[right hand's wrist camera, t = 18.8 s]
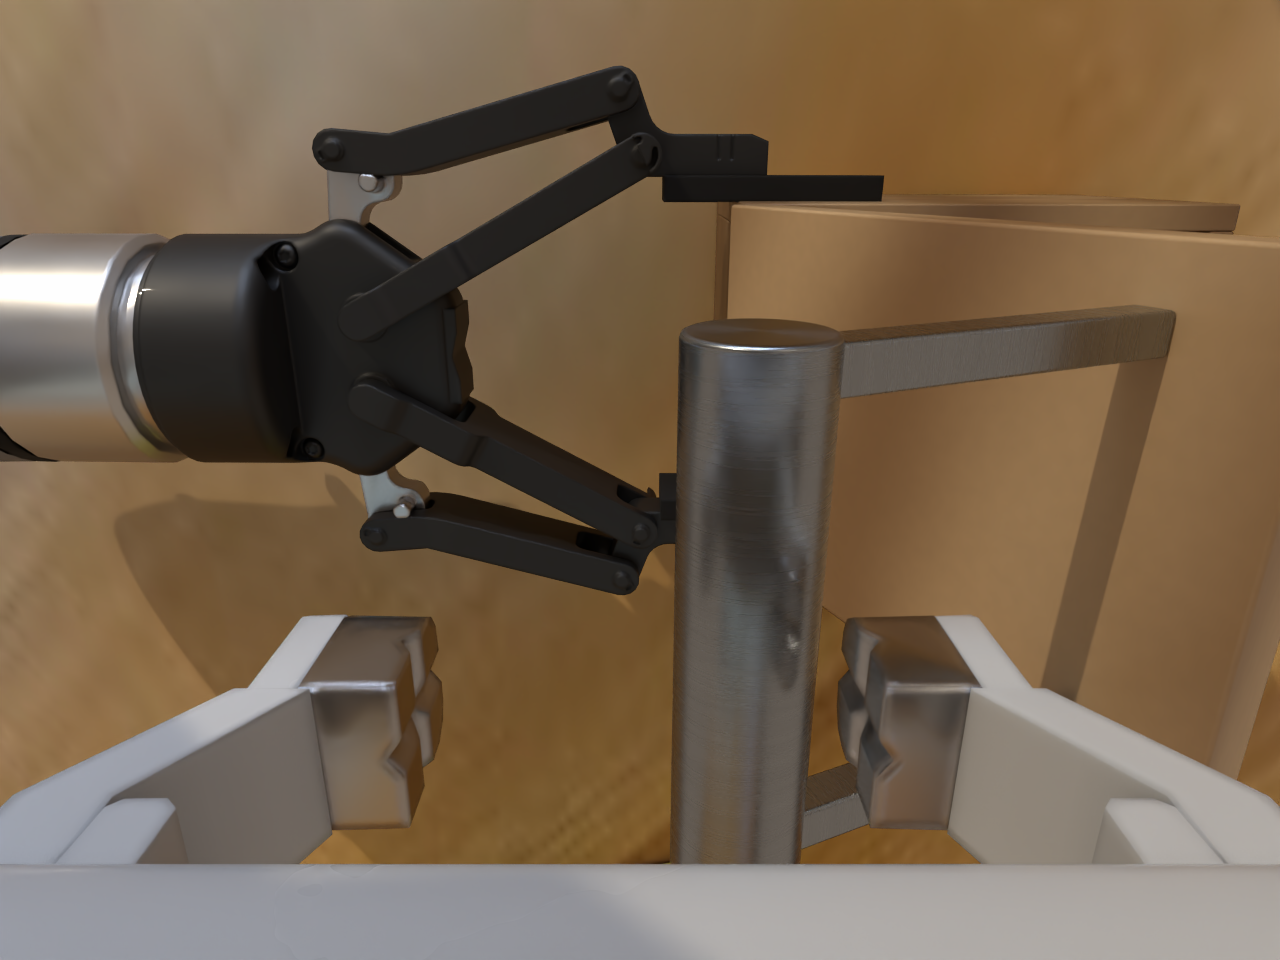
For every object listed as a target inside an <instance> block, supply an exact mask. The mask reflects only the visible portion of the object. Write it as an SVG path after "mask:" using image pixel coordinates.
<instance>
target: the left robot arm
mask: <svg viewBox="0 0 1280 960" xmlns="http://www.w3.org/2000/svg"><path fill="white" fill-rule="evenodd" d="M607 121H609V124H610V127H611V130H612V132H613V135H614V138H615V141H616V144H617V145H616V146H614V147H612V148H611V149H609V150H607V151H606V152H604V153H602V154H601V155H599V156H597V157H596V158H594V159H592V160H591V161H589V162H587V163H586V164H584V165H582V166H580V167H579V168H577V169H575V170H574V171H572V172H570V173H569V174H567V175H565V176H564V177H562V178H560V179H559V180H557V181H555V182H554V183H552V184H550V185H548V186H547V187H545V188H543V189H542V190H540V191H538V192H537V193H535V194H533V195H532V196H530V197H528V198H527V199H525V200H523V201H522V202H520V203H518V204H517V205H515V206H513V207H511V208H510V209H508V210H506V211H505V212H503V213H501V214H500V215H498V216H496V217H495V218H493V219H491V220H490V221H488V222H486V223H485V224H483V225H481V226H479V227H478V228H476V229H474V230H473V231H471V232H469V233H468V234H466V235H464V236H463V237H461V238H459V239H458V240H456V241H454V242H452V243H450V244H448V245H447V246H445V247H443V248H441V249H439V250H438V251H436V252H434V253H433V254H431V255H429V256H428V257H426V258H424V259H422V258H420V257H419V256H417V255H416V254H414V253H413V252H412V251H410V250H409V249H407V248H406V247H405V246H403V245H402V244H400V243H399V242H397V241H396V240H395V239H393V238H392V237H390V236H389V235H388V234H386V233H385V232H383V231H382V230H380V229H379V228H378V227H376V226H375V225H373V224H372V223H370V222H369V218H370V213H371V211H372V209H373V208H374V207H375V205H377V204H379V203H380V202H384V201H389V200H392V199H394V198H396V197H397V196H398V195H399V193H400V191H401V189H402V176H410V175H420V174H427V173H431V172H436V171H440V170H443V169H446V168H450V167H453V166H457V165H460V164H464V163H467V162H470V161H474V160H477V159H481V158H484V157H487V156H491V155H494V154H498V153H501V152H505V151H508V150H511V149H515V148H518V147H522V146H525V145H528V144H532V143H535V142H539V141H542V140H546V139H549V138H552V137H556V136H559V135H563V134H566V133H569V132H573V131H576V130H580V129H583V128H587V127H590V126H593V125H597V124H600V123H604V122H607ZM768 142H769V141H766V140H764V139H762V138H760V137H757V136H755V135H753V134H670V133H666V132H664V131H662V130H660V129H659V128H658V127H657V126H656V125H655V124H654V123H653V121H652V119H651V117H650V115H649V112H648V109H647V106H646V103H645V100H644V97H643V94H642V91H641V88H640V85H639V81H638V79H637V77H636V75H635V74H634V73H633V72H632V71H631V70H630V69H629V68H626V67H624V66H613V67H610V68H606V69H603V70H600V71H596V72H593V73H590V74H586V75H583V76H580V77H576V78H573V79H570V80H566V81H563V82H560V83H556V84H553V85H550V86H546V87H543V88H540V89H536V90H533V91H529V92H526V93H523V94H519V95H516V96H513V97H509V98H506V99H503V100H499V101H496V102H493V103H489V104H486V105H483V106H479V107H476V108H473V109H469V110H466V111H463V112H459V113H456V114H453V115H449V116H446V117H442V118H439V119H436V120H432V121H429V122H426V123H422V124H419V125H416V126H412V127H409V128H406V129H402V130H399V131H396V132H392V133H378V132H367V131H356V130H346V129H335V128H329V129H323V130H322V131H320V132H319V133H317V135H316V136H315V138H314V140H313V146H312V150H313V154H314V157H315V159H316V160H317V162H318V164H319V165H321V166H322V167H323V168H325V169H326V170H327V180H328V206H329V221H327V222H325V223H323V224H321V225H320V226H318V227H317V228H315V229H313V230H312V231H309V232H307V233H304V234H183V235H179V236H176V237H174V238H173V239H171V240H170V239H168V238H165V237H163V236H160V235H158V234H29V235H8V236H0V461H51V462H57V461H86V462H179V461H181V460H184V459H186V458H188V457H189V458H191V459H193V460H196V461H200V462H240V463H300V462H327V463H332V464H335V465H338V466H340V467H343V468H345V469H347V470H349V471H351V472H353V473H355V474H358V475H360V479H361V484H362V489H363V494H364V498H365V503H366V508H367V513H368V519H367V521H366V522H365V523H364V524H363V526H362V528H361V530H360V539H361V541H362V543H363V544H364V545H365V546H366V547H367V548H368V549H370V550H372V551H378V552H383V551H397V550H410V549H423V548H429V549H433V550H437V551H441V552H445V553H449V554H453V555H457V556H461V557H465V558H470V559H474V560H478V561H482V562H486V563H490V564H494V565H498V566H502V567H506V568H510V569H515V570H519V571H523V572H527V573H531V574H535V575H539V576H543V577H547V578H551V579H555V580H559V581H564V582H568V583H572V584H576V585H580V586H584V587H588V588H592V589H596V590H600V591H604V592H608V593H613V594H617V595H627V594H630V593H632V592H633V591H634V590H636V588H637V586H638V584H639V576H640V573H641V571H642V568H643V566H644V563H645V561H646V559H647V556H648V555H649V553H650V552H651V551H652V550H653V549H654V548H656V547H657V546H660V545H662V544H675V540H676V483H677V473H659V498H656V494H655V493H654V491H653V490H652V489H651V488H648V489H647V493H646V492H644V491H642V490H640V489H638V488H636V487H634V486H632V485H630V484H628V483H626V482H624V481H622V480H621V479H619V478H617V477H615V476H613V475H611V474H609V473H607V472H605V471H603V470H601V469H599V468H597V467H595V466H594V465H592V464H590V463H588V462H586V461H584V460H582V459H580V458H578V457H576V456H574V455H572V454H570V453H569V452H567V451H565V450H563V449H561V448H559V447H557V446H555V445H553V444H551V443H549V442H547V441H545V440H543V439H542V438H540V437H538V436H536V435H534V434H532V433H530V432H528V431H526V430H524V429H522V428H520V427H518V426H516V425H515V424H513V423H511V422H509V421H507V420H505V419H503V418H501V417H500V416H499V415H498V414H497V413H496V412H495V410H493V409H492V408H491V407H489V406H487V405H485V404H484V403H482V402H480V401H478V400H476V399H474V398H472V397H470V396H469V395H470V393H471V392H472V390H473V389H474V387H473V372H472V366H471V363H470V360H469V357H468V354H467V351H466V348H465V341H466V336H467V330H468V325H469V314H468V300H463V298H462V295H461V293H460V291H459V290H458V288H457V287H459V286H460V285H462V284H464V283H466V282H467V281H469V280H471V279H472V278H474V277H476V276H477V275H479V274H481V273H483V272H484V271H486V270H488V269H489V268H491V267H493V266H495V265H496V264H498V263H500V262H501V261H503V260H505V259H507V258H508V257H510V256H512V255H513V254H515V253H517V252H519V251H520V250H522V249H524V248H525V247H527V246H529V245H531V244H532V243H534V242H536V241H537V240H539V239H541V238H543V237H544V236H546V235H548V234H549V233H551V232H553V231H555V230H556V229H558V228H560V227H561V226H563V225H565V224H567V223H568V222H570V221H572V220H573V219H575V218H577V217H579V216H580V215H582V214H584V213H586V212H587V211H589V210H591V209H592V208H594V207H596V206H598V205H599V204H601V203H603V202H604V201H606V200H608V199H610V198H611V197H613V196H615V195H616V194H618V193H620V192H622V191H623V190H625V189H627V188H628V187H630V186H632V185H634V184H635V183H637V182H639V181H640V180H642V179H644V178H646V177H662V200H663V201H664V202H740V201H818V202H882V192H883V182H884V176H875V175H767V162H768ZM419 447H422V448H424V449H426V450H428V451H430V452H432V453H434V454H436V455H438V456H440V457H442V458H444V459H446V460H448V461H450V462H452V463H454V464H457V465H459V466H471V467H474V468H477V469H479V470H481V471H483V472H485V473H487V474H488V475H490V476H492V477H494V478H496V479H498V480H500V481H502V482H504V483H506V484H508V485H510V486H512V487H514V488H516V489H518V490H520V491H522V492H524V493H526V494H528V495H530V496H532V497H534V498H536V499H538V500H540V501H542V502H544V503H546V504H548V505H550V506H552V507H554V508H556V509H558V510H560V511H562V512H564V513H566V514H568V515H570V516H572V517H574V518H576V519H578V520H580V521H582V522H584V523H585V524H587V525H589V526H591V527H593V528H595V529H592V528H588V527H585V526H581V525H577V524H573V523H569V522H565V521H561V520H557V519H553V518H549V517H545V516H541V515H537V514H533V513H529V512H525V511H521V510H517V509H513V508H509V507H505V506H501V505H497V504H493V503H489V502H485V501H481V500H477V499H473V498H469V497H465V496H461V495H456V494H451V493H440V492H429V489H428V488H427V486H426V485H425V484H424V483H423V482H421V481H418V480H412V479H408V478H405V477H403V476H402V475H401V474H400V473H399V472H398V471H397V469H396V467H395V465H396V464H397V463H398V462H400V461H401V460H403V459H404V458H405V457H407V456H408V455H409V454H411V453H412V452H413V451H415V450H416V449H417V448H419ZM596 529H597V530H596Z"/></svg>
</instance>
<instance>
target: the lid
mask: <svg viewBox="0 0 1280 960" xmlns="http://www.w3.org/2000/svg"><path fill="white" fill-rule="evenodd" d="M822 606H823V607H824V608H825V609H827V610H828V611H829V612H831V613H832V614H833V615H835V616H836V617H837V618H839V619H840V620H842V621H843V622H844V623H846V620H847V619H849V618H853V617H892V616H947V615H970V614H971V615H973V616H975V617H978V618H979V619H980V621H981V622H982V623H983V624H984V626H985V627H986V628H987V630H988V631H989V632H990V633H991V635H992V636H993V637H994V639H995V640H996V641H997V643H998V644H999V645H1000V646H1001V648H1002V649H1003V650H1004V652H1005V653H1006V654H1007V655H1008V657H1009V658H1010V659H1011V661H1012V662H1013V663H1014V664H1015V666H1016V667H1017V668H1018V670H1019V671H1020V672H1021V674H1022V675H1023V676H1024V677H1025V679H1026V680H1027V681H1028V683H1029V684H1030V685H1031V686H1032V688H1047V689H1049V690H1051V691H1053V692H1055V693H1057V694H1059V695H1061V696H1063V697H1065V698H1067V699H1069V700H1071V701H1073V702H1075V703H1078V704H1080V705H1082V706H1084V707H1086V708H1088V709H1090V710H1092V711H1094V712H1096V713H1098V714H1100V715H1102V716H1104V717H1106V718H1109V719H1111V720H1113V721H1115V722H1117V723H1119V724H1121V725H1123V726H1125V727H1127V728H1129V729H1131V730H1133V731H1135V732H1137V733H1139V734H1142V735H1144V736H1146V737H1148V738H1150V739H1152V740H1154V741H1156V742H1158V743H1160V744H1162V745H1164V746H1166V747H1168V748H1170V749H1173V750H1175V751H1177V752H1179V753H1181V754H1183V755H1185V756H1187V757H1189V758H1191V759H1193V760H1195V761H1197V762H1199V763H1201V764H1204V765H1206V766H1208V767H1210V768H1212V769H1214V770H1216V771H1218V772H1220V773H1222V774H1224V775H1226V776H1228V777H1230V778H1232V779H1234V780H1237V777H1238V774H1239V771H1240V768H1241V764H1242V761H1243V758H1244V755H1245V751H1246V748H1247V745H1248V741H1249V738H1250V735H1251V732H1252V728H1253V725H1254V722H1255V719H1256V715H1257V712H1258V709H1259V706H1260V702H1261V699H1262V696H1263V692H1264V689H1265V686H1266V683H1267V679H1268V676H1269V673H1270V670H1271V666H1272V663H1273V660H1274V656H1275V653H1276V650H1277V647H1278V643H1279V640H1280V238H1276V237H1260V236H1245V235H1229V234H1214V233H1199V232H1183V231H1168V230H1152V229H1137V228H1122V227H1106V226H1091V225H1075V224H1060V223H1045V222H1029V221H1014V220H998V219H983V218H968V217H952V216H937V215H921V214H906V213H891V212H875V211H860V210H844V209H829V208H814V207H798V206H783V205H767V204H739V205H733V206H732V207H731V230H730V257H729V283H728V310H727V319H722V320H713V321H706V322H701V323H697V324H694V325H691V326H688V327H686V328H684V329H683V330H682V331H681V333H680V336H679V370H678V426H677V483H676V540H675V597H674V653H673V710H672V767H671V824H670V864H800V857H801V849H804V848H807V847H809V846H812V845H815V844H817V843H820V842H822V841H825V840H828V839H830V838H833V837H836V836H838V835H841V834H844V833H846V832H849V831H852V830H854V829H857V828H860V827H862V826H865V825H868V824H869V822H868V820H867V817H866V814H865V811H864V809H863V806H862V803H861V800H860V797H859V795H858V792H857V789H856V786H855V785H856V775H857V767H855V766H854V765H853V764H851V763H847V764H844V765H841V766H838V767H835V768H832V769H830V770H827V771H824V772H821V773H818V774H815V775H812V776H809V777H808V765H809V754H810V742H811V731H812V719H813V708H814V696H815V685H816V673H817V662H818V650H819V639H820V627H821V616H822Z"/></svg>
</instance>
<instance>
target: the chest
mask: <svg viewBox="0 0 1280 960" xmlns="http://www.w3.org/2000/svg"><path fill="white" fill-rule="evenodd" d="M739 204H767V205H783V206H798V207H814V208H829V209H844V210H860V211H875V212H891V213H906V214H921V215H937V216H952V217H968V218H983V219H998V220H1014V221H1029V222H1045V223H1060V224H1075V225H1091V226H1106V227H1122V228H1137V229H1152V230H1168V231H1183V232H1199V233H1214V234H1229V235H1233V232H1231V231H1234V230H1235V226H1236V222H1237V218H1238V213H1239V209H1240V205H1239V204H1225V203H1207V202H1190V201H1172V200H1155V199H1137V198H1120V197H1103V196H1085V195H882V202H818V201H740V202H718V203H717V234H716V266H715V297H714V320H722V319H727V310H728V283H729V257H730V230H731V207H732V206H733V205H739Z"/></svg>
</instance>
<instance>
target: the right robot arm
mask: <svg viewBox="0 0 1280 960" xmlns="http://www.w3.org/2000/svg"><path fill="white" fill-rule="evenodd" d="M437 652H438V642H437V634H436V626H435V624H434V622H433V620H432V618H431V617H401V616H347V615H314V616H305V617H302V618H301V619H300V620H299V621H298V623H297V624H296V625H295V627H294V628H293V629H292V630H291V632H290V633H289V634H288V636H287V637H286V638H285V640H284V641H283V642H282V643H281V645H280V646H279V647H278V649H277V650H276V651H275V653H274V654H273V655H272V657H271V658H270V659H269V660H268V662H267V663H266V664H265V666H264V667H263V668H262V670H261V671H260V672H259V673H258V675H257V676H256V677H255V679H254V680H253V681H252V683H251V684H250V685H249V686H248V688H233V689H231V690H229V691H227V692H225V693H223V694H221V695H219V696H217V697H215V698H213V699H211V700H209V701H207V702H204V703H202V704H200V705H198V706H196V707H194V708H192V709H190V710H188V711H186V712H184V713H182V714H180V715H178V716H175V717H173V718H171V719H169V720H167V721H165V722H163V723H161V724H159V725H157V726H155V727H153V728H151V729H149V730H146V731H144V732H142V733H140V734H138V735H136V736H134V737H132V738H130V739H128V740H126V741H124V742H122V743H120V744H117V745H115V746H113V747H111V748H109V749H107V750H105V751H103V752H101V753H99V754H97V755H95V756H93V757H91V758H88V759H86V760H84V761H82V762H80V763H78V764H76V765H74V766H72V767H70V768H68V769H66V770H64V771H61V772H59V773H57V774H55V775H53V776H51V777H49V778H47V779H45V780H43V781H41V782H39V783H37V784H35V785H32V786H30V787H28V788H26V789H24V790H22V791H20V792H18V793H16V794H14V795H12V796H11V797H10V798H9V799H8V800H7V801H6V802H5V803H4V804H3V805H2V806H1V807H0V960H1280V807H1279V806H1278V805H1277V804H1276V803H1275V802H1274V801H1273V800H1272V799H1271V798H1270V797H1269V796H1268V795H1265V794H1263V793H1261V792H1259V791H1257V790H1255V789H1253V788H1251V787H1249V786H1247V785H1245V784H1243V783H1241V782H1239V781H1237V780H1234V779H1232V778H1230V777H1228V776H1226V775H1224V774H1222V773H1220V772H1218V771H1216V770H1214V769H1212V768H1210V767H1208V766H1206V765H1204V764H1201V763H1199V762H1197V761H1195V760H1193V759H1191V758H1189V757H1187V756H1185V755H1183V754H1181V753H1179V752H1177V751H1175V750H1173V749H1170V748H1168V747H1166V746H1164V745H1162V744H1160V743H1158V742H1156V741H1154V740H1152V739H1150V738H1148V737H1146V736H1144V735H1142V734H1139V733H1137V732H1135V731H1133V730H1131V729H1129V728H1127V727H1125V726H1123V725H1121V724H1119V723H1117V722H1115V721H1113V720H1111V719H1109V718H1106V717H1104V716H1102V715H1100V714H1098V713H1096V712H1094V711H1092V710H1090V709H1088V708H1086V707H1084V706H1082V705H1080V704H1078V703H1075V702H1073V701H1071V700H1069V699H1067V698H1065V697H1063V696H1061V695H1059V694H1057V693H1055V692H1053V691H1051V690H1049V689H1047V688H1032V686H1031V685H1030V684H1029V683H1028V681H1027V680H1026V679H1025V677H1024V676H1023V675H1022V674H1021V672H1020V671H1019V670H1018V668H1017V667H1016V666H1015V664H1014V663H1013V662H1012V661H1011V659H1010V658H1009V657H1008V655H1007V654H1006V653H1005V652H1004V650H1003V649H1002V648H1001V646H1000V645H999V644H998V643H997V641H996V640H995V639H994V637H993V636H992V635H991V633H990V632H989V631H988V630H987V628H986V627H985V626H984V624H983V623H982V622H981V621H980V619H979V618H978V617H975V616H973V615H971V614H970V615H947V616H892V617H853V618H849V619H847V620H846V624H845V628H844V631H843V641H842V652H843V655H844V657H845V660H846V662H847V665H848V667H849V671H848V672H847V673H846V674H845V675H844V676H843V677H842V678H841V679H840V681H839V682H838V696H837V719H838V731H839V736H840V741H841V746H842V749H843V752H844V755H845V758H846V760H847V761H849V762H850V763H851V764H853V765H854V766H855V767H857V775H856V785H855V786H856V789H857V792H858V795H859V797H860V800H861V803H862V806H863V809H864V811H865V814H866V817H867V820H868V822H869V825H870V828H886V829H923V830H948V832H947V834H948V835H950V836H951V837H952V838H953V839H954V840H955V841H956V842H957V843H959V844H960V845H961V846H962V847H963V848H964V849H965V850H966V851H968V852H969V853H970V854H971V855H972V856H973V857H974V858H976V859H977V860H978V861H979V862H980V863H981V864H299V863H300V862H301V861H303V860H304V859H305V858H306V857H307V856H308V855H309V854H311V853H312V852H313V851H314V850H315V849H316V848H317V847H318V846H320V845H321V844H322V843H323V842H324V841H325V840H326V839H328V838H329V837H330V836H331V835H332V830H356V829H392V828H410V825H411V823H412V820H413V817H414V814H415V812H416V809H417V806H418V803H419V800H420V798H421V795H422V792H423V789H424V786H425V785H424V775H423V767H425V766H426V765H427V764H429V763H430V762H431V761H433V760H434V758H435V755H436V752H437V749H438V745H439V742H440V735H441V729H442V722H443V693H442V682H441V681H440V679H439V678H438V677H437V676H436V675H435V674H434V673H433V672H432V671H431V667H432V665H433V662H434V660H435V657H436V655H437Z"/></svg>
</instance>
